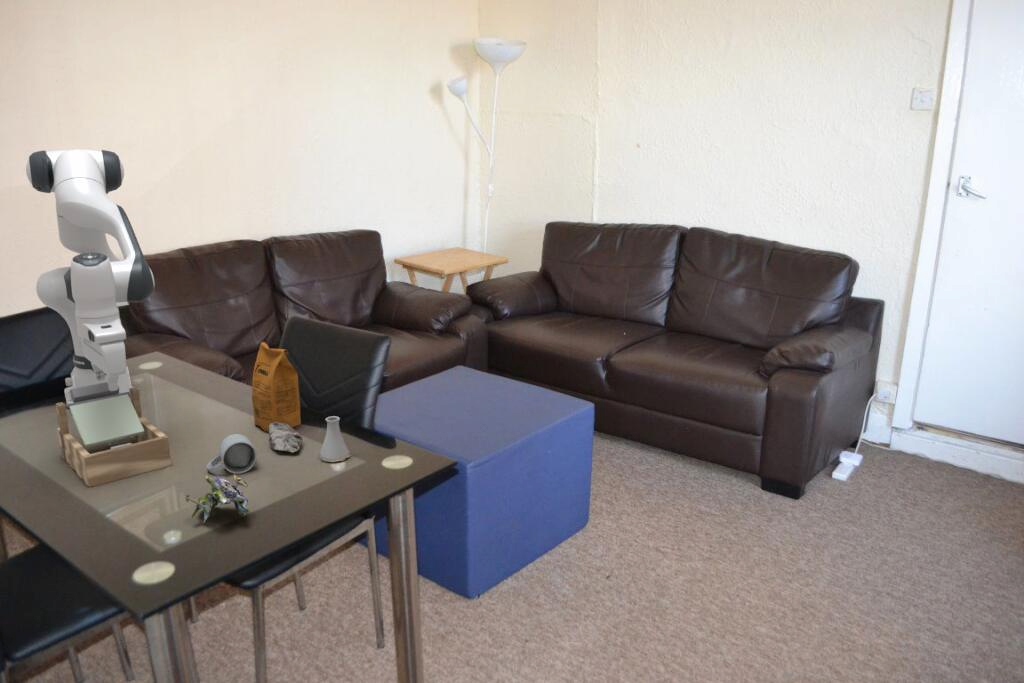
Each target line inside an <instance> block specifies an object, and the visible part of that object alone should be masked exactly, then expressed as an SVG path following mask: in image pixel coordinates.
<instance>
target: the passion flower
mask: <svg viewBox="0 0 1024 683" xmlns="http://www.w3.org/2000/svg"><path fill="white" fill-rule="evenodd" d="M232 474H233V475H232V476H233V479H234V482H236V483H235V484H234V483H232V482H230V481H228V479H227V478H223V477H222V478H221V476H216V477H214V478H212V477H209V476H208V475H206V476H205V481H206V482H207V483H208V484H209V485H210V486H211V488H210V492H206V493H205V494H204V497H203V496H200V497H199V498H198V502H196V501H195V500H193V499H191V498H189V497H190V495H191V494H187V493H186V494H185V495H184V496H185V502H187V503H188V502H189V501H190V502H192V503H194V504H196V505H195V506H196V507H195V509H194V511H193V512H192V514H191V518H192V519H193V518H194V516H196V514H197V513H198V512H199V511H200V510H201V509H203V515H204V516H203V522H202V526H203V525H205V523H206V520H208V518H210V517H211V516H212V515H213V510H214V509H215V508H216V507H217V506H218V504H220V506H223V505H230V504H231V503H234V506H235V507H234V508H235V511H236V512H237V513H238V515H240V516H241V517H246V514H247V513H248V512H249V509H247V508H246V506H247V505H248V504H249V499H247V498H246V497H245V496H244V494H243V491H242V490H241V489H240V488H237V487H238V486H239V485H240V486H242V487H245V488H247V487H248V484H247V482H246V481H245V480H243V478H241V477H240V475H237V474H235V473H232ZM205 505H207V506H208V508H207V507H205Z"/></svg>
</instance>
